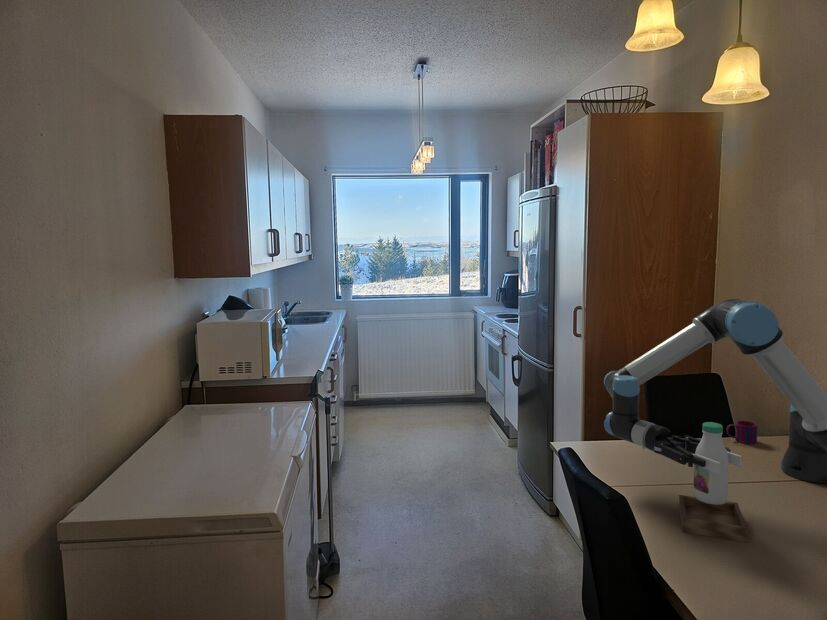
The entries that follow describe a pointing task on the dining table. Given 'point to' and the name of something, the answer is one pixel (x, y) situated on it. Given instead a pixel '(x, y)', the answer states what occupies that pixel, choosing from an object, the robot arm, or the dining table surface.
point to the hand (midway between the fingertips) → (730, 464)
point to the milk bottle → (705, 481)
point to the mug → (745, 432)
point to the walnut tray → (712, 519)
